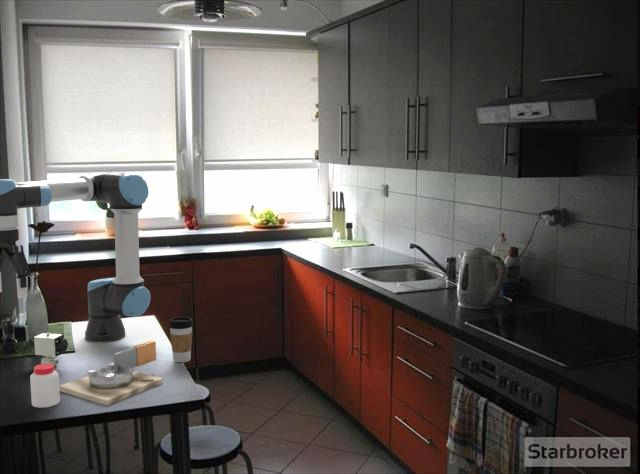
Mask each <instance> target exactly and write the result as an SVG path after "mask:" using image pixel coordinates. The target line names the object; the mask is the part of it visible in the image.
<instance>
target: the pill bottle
mask: <svg viewBox="0 0 640 474" xmlns="http://www.w3.org/2000/svg"><path fill="white" fill-rule="evenodd" d="M29 380H30V398H31V399H30V400H31V406H32V407H34V408H39V409H40V408H50V407H54V406H56V405H58V404H59V403H60V402H61V393H60V392H61V391H60V388H59V386H60V375H59V371H57V370H55V366H54V365H53V364H49V363H47V364H41V363H40V364H37V365H35V366H33V373H32V374H30V377H29Z"/></svg>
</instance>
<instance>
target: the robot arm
mask: <svg viewBox="0 0 640 474" xmlns="http://www.w3.org/2000/svg"><path fill="white" fill-rule="evenodd" d="M148 196H149V186H148V183H147V181H146V180H145V179H144V178H143V176H141V175H140V174H138V173H134V172H133V173H132V172H109V171H108V172H101V173H96V174H88V175H81V176H79V177H78V178H70V179H69V178H68V179H52V180H49V179H48V180H35V181H34V180H33V181H19V182H16V180H15V179H13V178H3V179H2V178H0V268H2V265H3V263H4V261H5V260H7V261H8V262H10V264H11V266H12V267H13V269H14V271H15V273H16V275H17V276H16V278H15V279H16V290H17V299H19V300H21V299H24V298H28V283H27V282H28V281H27V278H28V276H31V275H32V272H31V269H30V266H29V264H28V261H27V257H26V255H25V252H24V245H22V244H21V245H17V244H16V242H17V241H19V240H20V232H19V231H20V230H19V229H18V228H19V218H18V217H19V215H18V209H19V210H20V209H27V208H41V207H47V206H49V205H50V203H51V202H52V203H53V202H61V201H63V202H64V201H73V200H74V201H75V200H81V201H83V202H100V203H105V204H106V203H107V204H109V210H110V211H111V212H112V213H113V214H114V217H113V218H114V246H115V247H114V249H115V253H114V254H115V255H114V256H115V277H106V278H99V279H95V280H91V281H89V282H88V284H87V292H86V293H87V306H88V308H87V310H88V321H87V325H86V329H85V331H84V339H85V340H86V341H88V342H94V343H95V342H96V343H97V342H99V343H100V342H101V343H102V342H114V341H117V340H121V339H122V338H124V337H125V336H126V329H125V326H124V323H123V321H122V318H121V316H126V317H140V316H141V315H143V314H144V313H146V311H147V309H148V308H149V307H150V303H151V297H152V296H151V295H152V294H151V291H150V290H149V289H148V288H147V287H146V286H145V279H144V278H142V276H141V274H140V245H139V244H140V243H139V242H140V241H139V240H140V238H139V237H140V236H139V212H141V210H143V204H144V203H146V201H147V199H148V198H149V197H148ZM2 285H3V284H2V272H1V271H0V293H2V292H3V289H2Z"/></svg>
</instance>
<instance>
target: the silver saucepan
mask: <svg viewBox="0 0 640 474" xmlns="http://www.w3.org/2000/svg"><path fill="white" fill-rule="evenodd" d="M156 343H157V342H156V341H155V340H148V341H146V342H143V343H140V344H139V343H138V344H137V345H134V346H133V345H132V347H130V348H127V349H124V350H121V351H118V352H115V353H113V362H111V363H108V364H107V367H103V368H98V369H96V370H95V369H91V370H88V371H87V376H89V384H90V386H92V387H94V388H100V389H110V388H117V387H122V386H125V385H127V384H129V383H131V382H132V381H133V372H134V371H135V368H136V367H141V366H144V365H146V364H149V363H151V362H155V361H157V344H156Z"/></svg>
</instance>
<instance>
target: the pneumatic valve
mask: <svg viewBox="0 0 640 474" xmlns="http://www.w3.org/2000/svg"><path fill="white" fill-rule="evenodd" d="M68 346H69V342H68V340H67V339H66V338H65V334H60V333H59V334H58V333H50V332H46V333H42V332H41V333H38V334H36V335H33V336H32V338H31V339H30V340H29V349H30V350H32V352H33V356H42V358H41V359H40V360H41V361H40V364H47V363H49V364H53V365H54V367H58V364H59V359H58V357H59V356H60V355H63V354H64V353H66V352H67V349H68Z"/></svg>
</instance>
